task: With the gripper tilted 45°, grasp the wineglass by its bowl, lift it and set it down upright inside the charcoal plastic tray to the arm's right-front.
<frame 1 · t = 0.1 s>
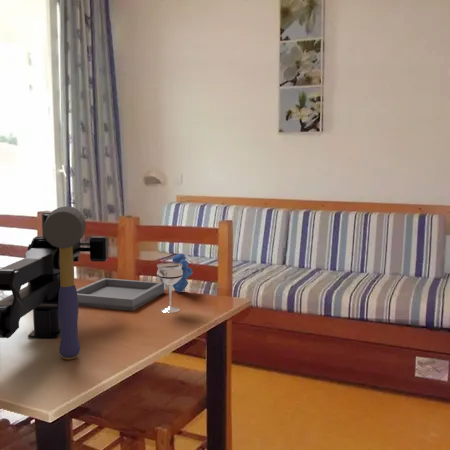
hand: (81, 243, 138), 17 cm above the table, tool horizontal, fingers open, 9 cm apart
grapes: (182, 292, 153), on the table
tray: (117, 298, 145), on the table
rubber mallet: (70, 358, 101), on the table
wineglass: (170, 310, 134), on the table
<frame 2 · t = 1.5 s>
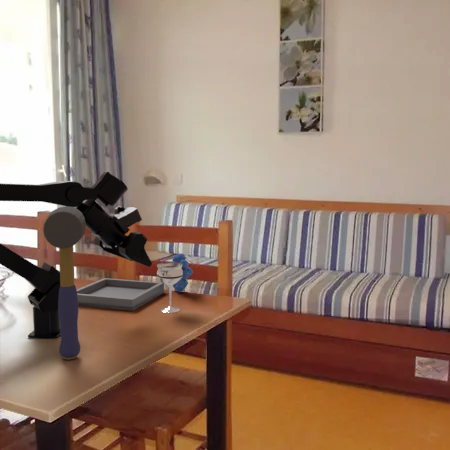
hand: (141, 262, 127), 14 cm above the table, tool tilted 45°, fingers open, 9 cm apart
nothing on the table moved.
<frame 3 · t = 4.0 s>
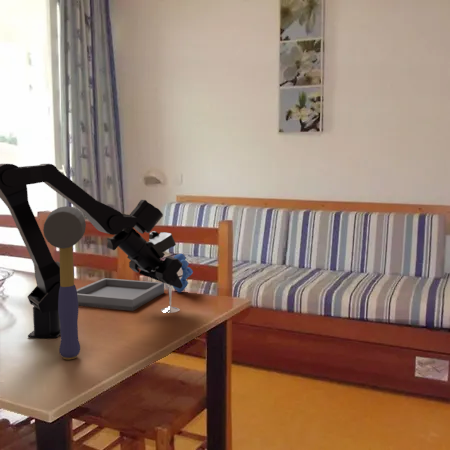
hand: (174, 284, 134), 7 cm above the table, tool tilted 45°, fingers closed on wineglass, 6 cm apart
wineglass: (170, 310, 134), on the table, touching gripper
everything else where it was.
when the fingers open (9 cm above the table, at t = 8.5 s): wineglass drops 1 cm, resting on tray.
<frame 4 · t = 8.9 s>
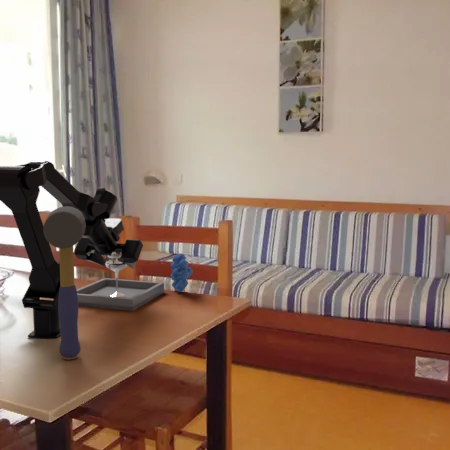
hand: (119, 266, 145), 9 cm above the table, tool tilted 45°, fingers open, 9 cm apart
wineglass: (117, 295, 145), point 1 cm above the table, touching tray
everything else where it was.
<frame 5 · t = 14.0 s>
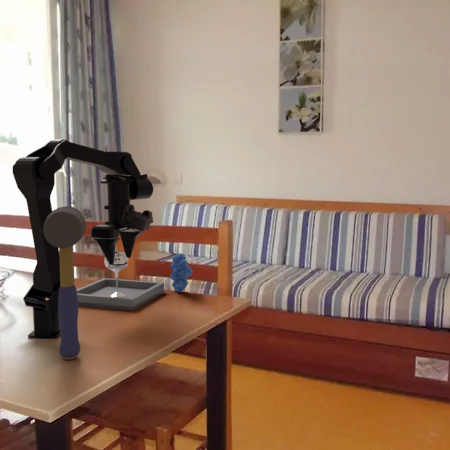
hand: (120, 260, 133), 13 cm above the table, tool pointing down, fingers open, 9 cm apart
nothing on the table moved.
at the end: wineglass inside the target area on the tray (0.2 cm from its centre), point 0.8 cm above the tray's base; wineglass tilted 0°; the gripper is holding nothing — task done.
